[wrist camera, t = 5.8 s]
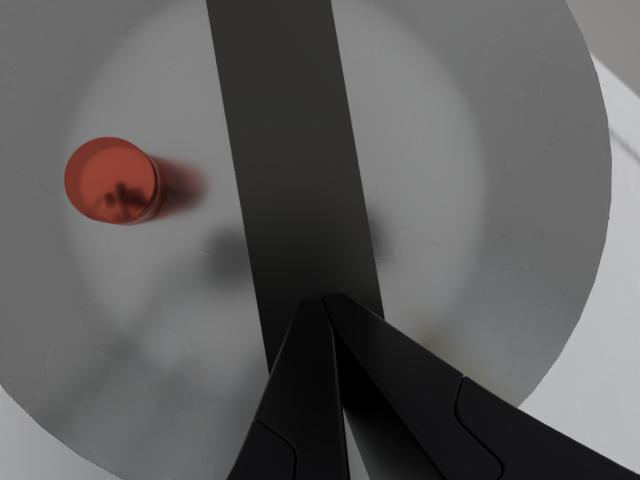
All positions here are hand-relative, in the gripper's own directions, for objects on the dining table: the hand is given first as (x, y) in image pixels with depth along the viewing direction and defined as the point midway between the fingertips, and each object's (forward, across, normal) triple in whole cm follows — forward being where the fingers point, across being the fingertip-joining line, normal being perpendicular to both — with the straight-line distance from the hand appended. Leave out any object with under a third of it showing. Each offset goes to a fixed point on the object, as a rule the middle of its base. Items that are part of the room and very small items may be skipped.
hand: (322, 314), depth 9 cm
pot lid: (+4, 0, -2) cm, 4 cm away
